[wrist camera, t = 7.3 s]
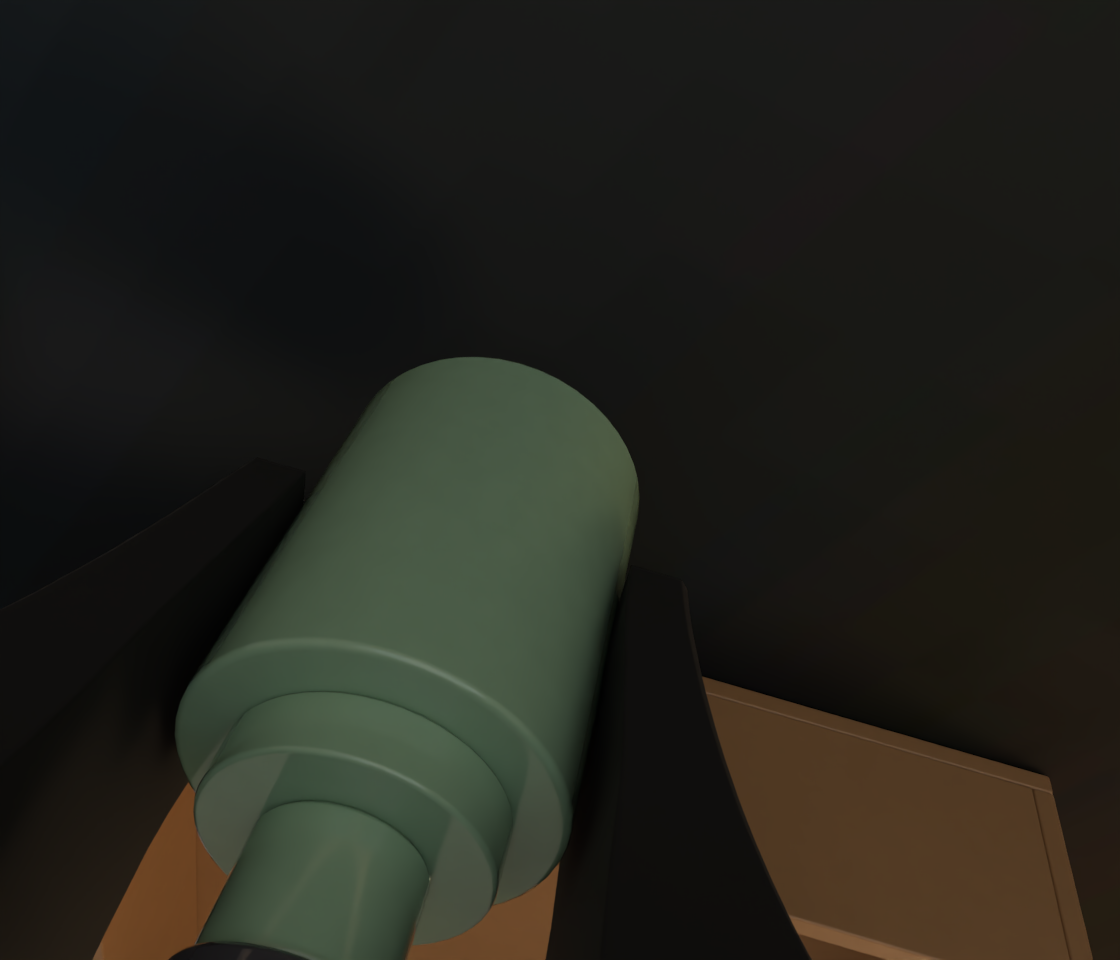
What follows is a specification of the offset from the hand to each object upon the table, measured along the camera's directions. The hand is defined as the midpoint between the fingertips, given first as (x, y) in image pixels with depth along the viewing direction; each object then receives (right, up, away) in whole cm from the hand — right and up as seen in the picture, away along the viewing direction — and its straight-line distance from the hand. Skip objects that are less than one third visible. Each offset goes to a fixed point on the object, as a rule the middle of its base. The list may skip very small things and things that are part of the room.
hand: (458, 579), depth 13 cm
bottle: (0, +1, +2) cm, 2 cm away
